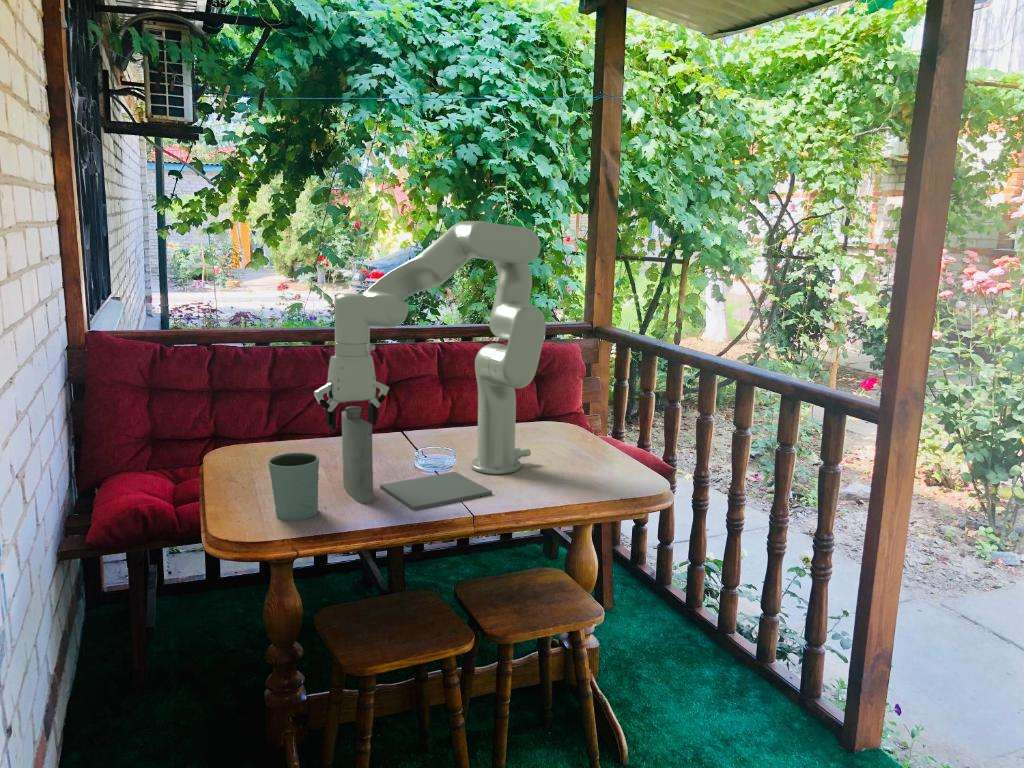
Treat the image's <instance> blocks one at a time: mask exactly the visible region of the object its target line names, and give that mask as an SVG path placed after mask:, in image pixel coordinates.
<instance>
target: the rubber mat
mask: <svg viewBox="0 0 1024 768" xmlns="http://www.w3.org/2000/svg"><path fill="white" fill-rule="evenodd" d="M379 488H380V489H381V490H382V491H383V492H386V493H387V494H388V495H390V496H391V497H393V498H394V499H396V500H397V501H398V502H401V503H402V504H403V505H404V506H406V507H408V508H409V509H411V510H412V511H417V510H418V511H419V510H422V509H426V508H432V507H436V505H437V506H441V505H440V504H442V505H446V504H445V503H447V504H451V503H450V502H452V503H456V501H457V502H460V501H461V500H462V501H466V500H465V499H467V500H471V499H470V498H472V499H476V498H475V497H477V498H481V497H480V496H482V497H486V496H485V495H487V496H491V495H490V494H493V491H492V490H491V489H489V488H487V487H485V486H484V485H481V484H479V483H478V482H476V481H473V480H472V479H470V478H468V477H466V476H464V475H462V474H461V473H459V472H457V471H451V472H445V473H439V474H438V473H437V474H433V475H427V476H422V477H418V478H417V477H416V478H411V479H405V480H399V481H394V482H388V483H383V484H379ZM431 506H432V507H431Z"/></svg>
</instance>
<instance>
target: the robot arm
mask: <svg viewBox="0 0 1024 768" xmlns="http://www.w3.org/2000/svg"><path fill="white" fill-rule="evenodd" d="M541 248H542V247H541V240H540V238H539V235H538V234H537V233H536V232H535V231H534V230H532V229H530V228H529V227H524V226H522V227H521V226H515V225H507V224H502V223H495V222H489V221H482V220H464V221H459V222H457V223H454V225H452V226H451V227H450V228H449V229H447V230H446V231H445V232H443V233H442V235H440V236H439V237H438V238H437V239H436V240H434V241H433V242H431V243H430V244H429V246H427V247H426V248H425V249H424V250H423V251H422V252H420V253H419V254H417V256H415V257H413V258H411V259H409V260H407V261H406V262H404V263H402V264H400V265H399V266H398V267H396V268H394V269H392V270H390V271H389V272H387V273H386V274H384V275H383V276H382V277H380V278H379V279H377V281H376V282H374V283H373V284H371V286H369V287H368V289H366V290H365V291H364V292H363V293H348V292H347V293H341V294H338V295H336V297H335V299H334V355H331V356H330V359H329V366H328V371H327V383H326V384H324V385H323V386H321V387H319V388H318V389H316V390H314V391H313V395H314V397H315V399H316V401H317V402H318V405H320V406H321V407H322V408H323V409H324V410H325V424H326V426H327V427H328V428H329V429H331V430H336V428H337V425H336V424H337V423H336V422H337V419H336V418H337V416H336V414H337V413H336V411H335V410H334V409H336V407H337V406H338V405H339V404H340V403H352V402H353V403H354V402H362V401H363V402H364V401H368V402H369V404H370V405H368V407H367V422H368V423H371V424H372V426H376V425H377V424H378V423H377V421H378V420H379V408H380V406H381V404H382V403H383V401H385V399H386V397H387V396H386V395H387V394H388V392H389V390H390V386H388V385H386V384H383V383H381V382H379V381H377V379H376V377H377V376H376V371H375V370H376V369H375V364H374V363H375V362H374V359H373V356H372V355H371V351H375V350H376V344H375V343H371V342H370V341H371V339H370V338H371V336H370V335H371V331H370V330H371V329H370V328H371V327H380V328H388V329H389V328H395V327H398V326H400V325H402V324H404V322H405V320H406V319H407V317H408V313H409V312H408V311H409V309H408V305H407V304H406V301H405V299H407V298H409V297H410V296H412V295H415V294H417V293H421V292H424V291H428V290H431V289H435V288H437V287H440V286H441V285H443V284H444V283H445V282H447V281H448V280H449V279H450V278H451V277H453V275H454V274H455V273H457V272H458V271H459V270H460V269H461V268H462V267H463V266H465V265H466V264H467V263H468V262H469V261H470V260H472V259H481V260H487V261H492V262H493V264H494V267H495V269H496V273H497V284H496V285H497V286H496V291H495V295H494V300H493V304H492V308H491V312H490V318H489V324H488V325H489V329H490V331H491V333H492V334H493V335H494V336H495V337H497V338H500V339H502V340H507V345H506V344H502V343H489V344H486V345H483V346H482V347H481V348H480V349H479V350H478V352H477V354H476V355H475V359H474V372H475V378H476V383H477V385H476V386H477V458H474V459H473V460H472V461H471V465H470V466H471V468H472V469H473V470H474V471H476V472H479V473H482V474H488V475H489V474H490V475H493V474H494V475H503V474H511V473H514V472H517V471H519V470H520V469H521V467H522V464H521V461H520V459H521V458H523V457H524V458H525V457H530V456H531V454H532V450H531V449H530V448H525V449H521V448H519V447H517V448H516V417H517V411H516V410H517V396H516V390H515V389H523V388H525V387H527V386H528V385H529V384H531V382H532V381H533V379H535V375H536V373H537V370H538V367H539V362H540V358H541V353H542V348H543V344H544V340H545V336H546V330H547V329H546V324H547V323H546V319H545V318H546V317H545V315H544V314H543V312H542V311H541V309H539V308H538V306H535V305H533V304H530V300H531V299H530V298H531V294H532V293H531V292H532V289H533V275H532V272H531V268H530V265H529V264H530V263H532V262H533V261H535V260H536V259H537V258H538V256H539V254H540V252H541ZM377 389H379V390H380V391H379V393H378V394H377ZM325 394H326V396H327V398H328V400H327V401H326V400H325V399H324V395H325Z"/></svg>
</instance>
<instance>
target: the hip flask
mask: <svg viewBox="0 0 1024 768" xmlns="http://www.w3.org/2000/svg"><path fill="white" fill-rule="evenodd" d="M361 412H362V407H361V406H358V405H357V406H354V405H353V406H346V407H345V408H344V410H343V411H341V443H342V445H341V446H342V453H341V454H342V484H343V488H344V490H345V491H346V493H347V494H348V495H349V496H350V497H351V498H352V499H353V500H355V501H356V502H358V503H360V504H371V503H373V502H374V479H373V478H374V470H373V468H374V467H373V466H374V465H373V460H374V459H373V458H374V457H373V424H371V423H369V422H368V421H366V420H364V419H363V418H361Z"/></svg>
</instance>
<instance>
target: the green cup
mask: <svg viewBox="0 0 1024 768" xmlns="http://www.w3.org/2000/svg"><path fill="white" fill-rule="evenodd" d="M267 462H268V467H269V468H268V469H269V474H270V480H271V485H272V486H271V487H272V488H271V489H272V494H273V503H274V506H275V507H274V510H275V515H276V518H278V519H279V518H280V520H283V521H288V520H289V521H290V522H293V521H294V522H295V521H296V522H297V521H304V520H308V519H310V517H311V518H313V517H315V516H316V515H317V514H318V513H319V510H318V509H319V500H318V499H319V479H320V478H319V476H320V475H319V470H320V469H319V466H320V457H319V456H318V455H317V454H315V453H311V452H289V453H284V454H279V455H275V456H273V457H271V458H270V459H269V460H268V461H267ZM307 518H308V519H307ZM303 519H304V520H303Z"/></svg>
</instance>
